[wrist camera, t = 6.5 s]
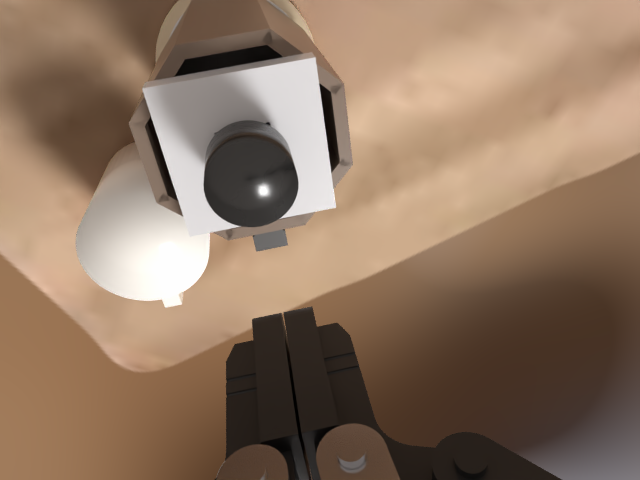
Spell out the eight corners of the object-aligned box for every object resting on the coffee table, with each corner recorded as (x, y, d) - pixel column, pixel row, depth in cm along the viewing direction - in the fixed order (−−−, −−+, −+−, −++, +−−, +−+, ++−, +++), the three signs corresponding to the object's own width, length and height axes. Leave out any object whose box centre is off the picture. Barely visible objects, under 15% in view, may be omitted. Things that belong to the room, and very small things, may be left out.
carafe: (303, -36, 34) (358, -5, 20) (327, 145, 41) (382, 262, 27) (134, -7, 33) (71, 45, 19) (188, 172, 40) (170, 305, 26)
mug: (196, 129, 38) (190, 180, 31) (227, 242, 44) (228, 309, 36) (87, 149, 38) (54, 207, 30) (132, 261, 43) (113, 333, 36)
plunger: (260, 40, 34) (290, 133, 19) (270, 95, 36) (305, 217, 21) (205, 50, 33) (192, 151, 19) (218, 104, 35) (216, 235, 21)
